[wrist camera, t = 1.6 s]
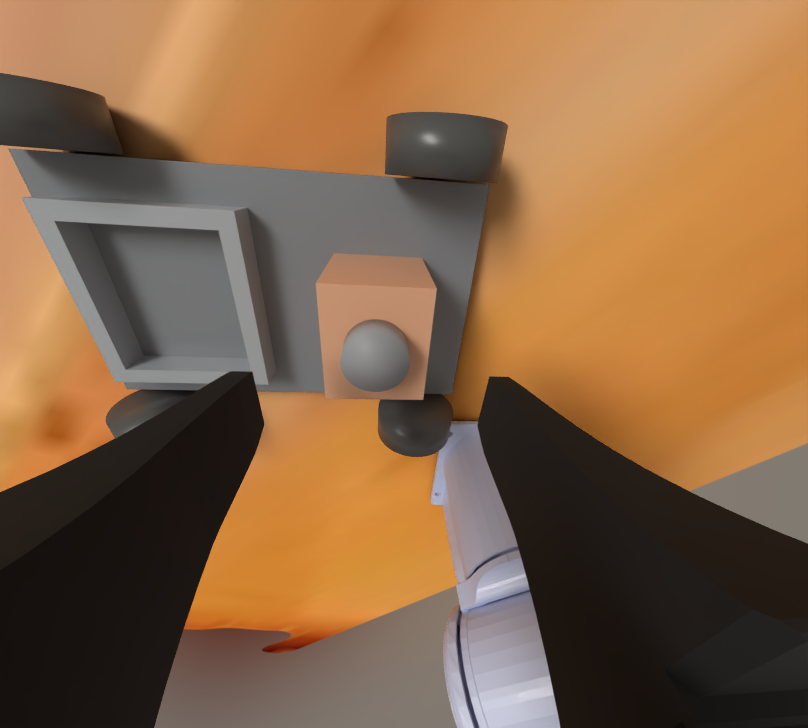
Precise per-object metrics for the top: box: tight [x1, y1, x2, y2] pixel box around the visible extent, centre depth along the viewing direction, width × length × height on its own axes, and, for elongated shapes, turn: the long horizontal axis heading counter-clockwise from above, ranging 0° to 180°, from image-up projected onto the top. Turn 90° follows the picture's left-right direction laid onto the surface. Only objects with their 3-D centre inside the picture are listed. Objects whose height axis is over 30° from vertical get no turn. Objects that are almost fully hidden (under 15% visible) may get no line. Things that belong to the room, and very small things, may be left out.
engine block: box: [316, 253, 437, 400], centre depth 14 cm, size 5×4×6 cm
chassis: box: [0, 73, 508, 457], centre depth 15 cm, size 16×20×5 cm
